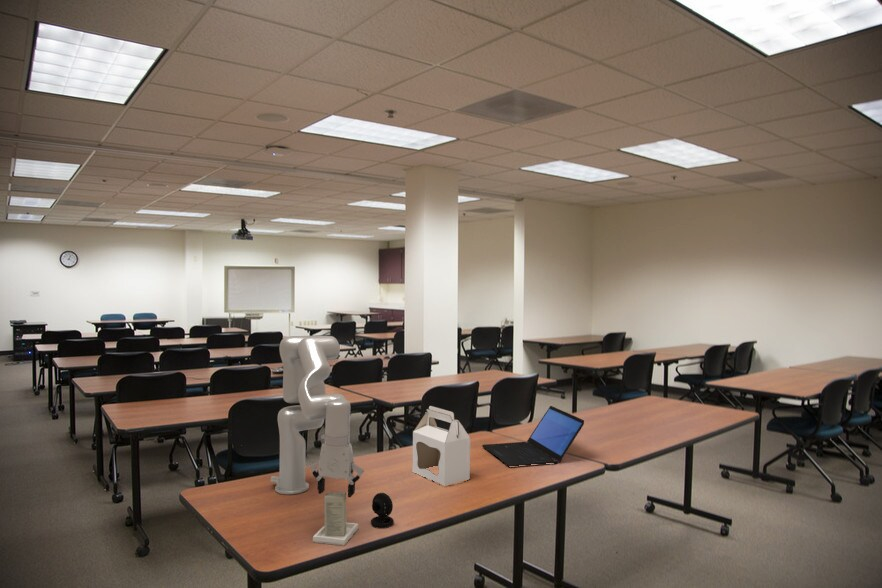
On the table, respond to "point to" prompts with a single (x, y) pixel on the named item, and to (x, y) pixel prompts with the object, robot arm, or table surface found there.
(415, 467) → the gable box
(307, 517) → the table surface
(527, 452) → the laptop
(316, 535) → the tray
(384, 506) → the webcam
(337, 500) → the skincare box
